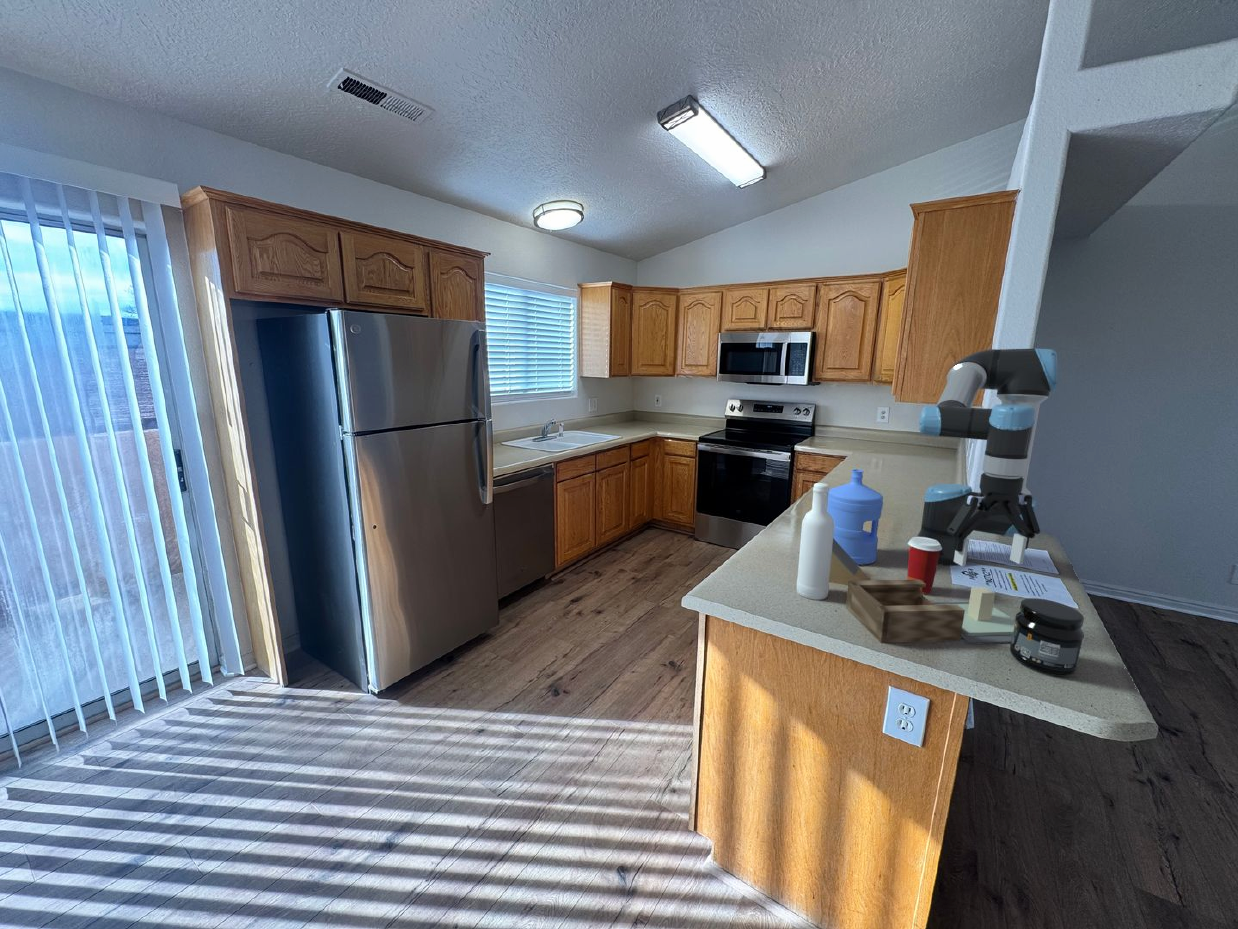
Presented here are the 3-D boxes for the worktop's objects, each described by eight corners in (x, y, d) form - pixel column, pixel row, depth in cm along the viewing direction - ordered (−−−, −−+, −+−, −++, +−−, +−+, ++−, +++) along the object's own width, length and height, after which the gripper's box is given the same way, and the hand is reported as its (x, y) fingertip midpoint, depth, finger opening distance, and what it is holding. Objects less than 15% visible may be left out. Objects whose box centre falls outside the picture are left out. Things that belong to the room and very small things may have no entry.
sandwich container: (870, 590, 132) (876, 538, 129) (809, 579, 139) (814, 529, 136) (870, 578, 139) (876, 528, 136) (813, 568, 146) (818, 520, 143)
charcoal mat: (984, 603, 125) (984, 601, 125) (1047, 642, 107) (1047, 640, 107) (915, 604, 124) (916, 602, 124) (968, 644, 106) (968, 642, 106)
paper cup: (931, 585, 134) (938, 538, 132) (939, 598, 127) (946, 547, 124) (899, 581, 137) (905, 534, 134) (905, 593, 130) (911, 544, 127)
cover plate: (987, 606, 122) (992, 577, 121) (1032, 634, 109) (1038, 602, 108) (929, 607, 121) (933, 578, 120) (968, 636, 109) (973, 604, 107)
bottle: (834, 595, 128) (845, 485, 122) (815, 603, 124) (825, 489, 118) (808, 584, 135) (817, 479, 129) (789, 591, 131) (798, 483, 125)
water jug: (822, 561, 151) (830, 473, 145) (822, 544, 165) (829, 463, 160) (878, 569, 145) (889, 478, 140) (873, 551, 159) (883, 467, 154)
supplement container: (1043, 647, 105) (1053, 596, 103) (1091, 678, 95) (1103, 622, 92) (995, 648, 105) (1005, 596, 102) (1038, 679, 95) (1050, 622, 92)
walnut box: (915, 606, 123) (919, 579, 121) (959, 640, 108) (964, 610, 106) (845, 608, 122) (848, 580, 120) (880, 642, 107) (884, 611, 105)
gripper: (1041, 469, 112) (1025, 554, 117) (936, 471, 111) (924, 558, 116) (1072, 477, 105) (1054, 568, 110) (960, 480, 104) (946, 571, 109)
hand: (987, 563), depth 113 cm, fingers open, 13 cm apart
